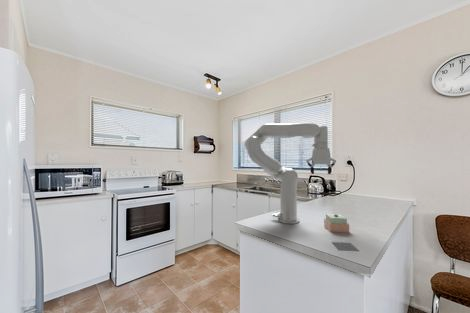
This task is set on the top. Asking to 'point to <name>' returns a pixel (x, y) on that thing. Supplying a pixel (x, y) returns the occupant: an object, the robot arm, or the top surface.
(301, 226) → the top surface
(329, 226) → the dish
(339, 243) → the mat
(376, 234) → the top surface
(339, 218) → the green block with hole
